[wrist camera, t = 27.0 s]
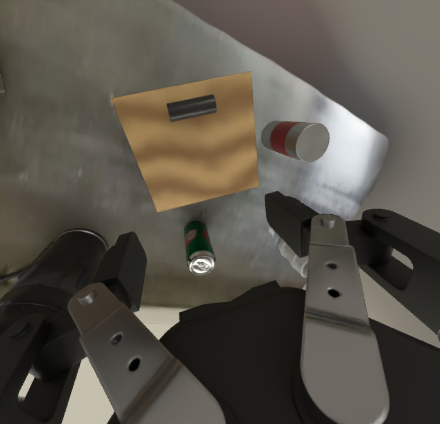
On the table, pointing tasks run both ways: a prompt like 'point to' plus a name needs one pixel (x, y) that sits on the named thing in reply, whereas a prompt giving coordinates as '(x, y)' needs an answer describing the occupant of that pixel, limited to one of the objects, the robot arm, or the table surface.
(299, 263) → the mug
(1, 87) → the block tower
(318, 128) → the can
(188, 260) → the soda can
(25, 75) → the table surface
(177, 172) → the lid
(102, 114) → the table surface
